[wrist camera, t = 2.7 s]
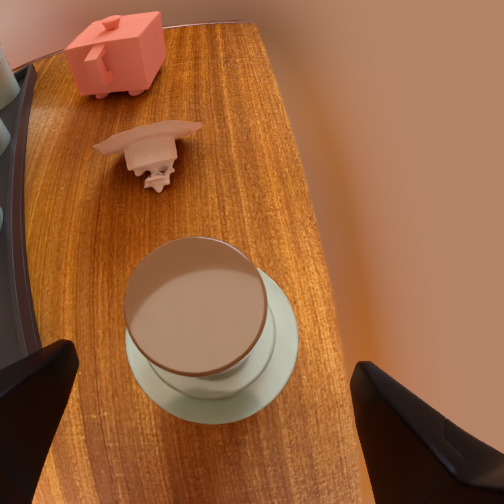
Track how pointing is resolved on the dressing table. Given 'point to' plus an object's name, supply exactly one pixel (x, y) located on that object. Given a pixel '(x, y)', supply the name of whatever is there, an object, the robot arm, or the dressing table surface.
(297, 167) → the dressing table surface
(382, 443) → the robot arm
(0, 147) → the bottle middle
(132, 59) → the pink cube teapot
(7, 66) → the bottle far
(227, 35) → the dressing table surface
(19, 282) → the tray
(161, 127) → the pale pink ornate lid
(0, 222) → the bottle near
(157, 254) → the bottle
